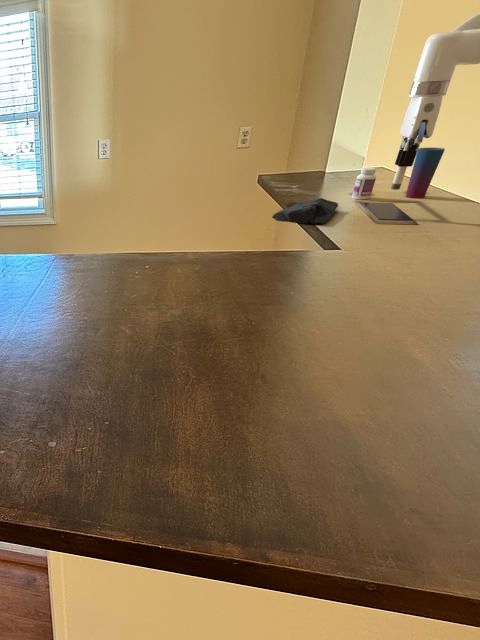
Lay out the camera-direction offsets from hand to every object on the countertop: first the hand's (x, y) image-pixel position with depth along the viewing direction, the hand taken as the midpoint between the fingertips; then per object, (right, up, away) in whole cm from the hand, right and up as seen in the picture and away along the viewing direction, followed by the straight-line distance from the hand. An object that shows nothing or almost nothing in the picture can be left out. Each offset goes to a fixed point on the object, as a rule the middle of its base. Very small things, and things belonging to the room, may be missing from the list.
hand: (403, 165), depth 132 cm
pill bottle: (+13, +2, +33) cm, 36 cm away
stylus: (0, -6, +3) cm, 6 cm away
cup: (+29, +1, +30) cm, 42 cm away
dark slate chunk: (-15, -9, +18) cm, 25 cm away
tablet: (+9, -10, +13) cm, 19 cm away
